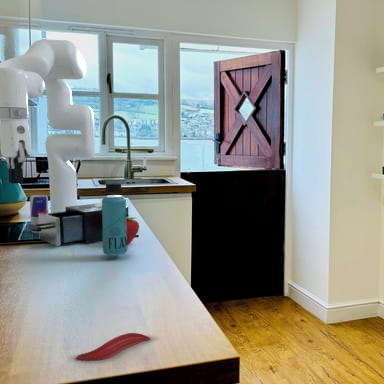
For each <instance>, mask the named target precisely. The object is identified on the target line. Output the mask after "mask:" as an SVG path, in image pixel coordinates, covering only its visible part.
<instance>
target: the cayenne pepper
mask: <svg viewBox="0 0 384 384" xmlns="http://www.w3.org/2000/svg"><path fill="white" fill-rule="evenodd" d="M150 340H151V338H150V336H148V335H144V334H142V333H139V332H128V333H124V334H120V335H118V336H115V337H113V338H112V339H109V340H108V341H107V342H105V343H103V344H101V345H100V346H99V347H97V348H95V349H93V350H91V351H88V352H85V353H81V354H78V355H77V356H76V357H75V358H76V359H77V360H79V361H101V360H105V359H109V358H112V357H114V356H116V355H118V353H120V352H121V351H123V350H125V349H128V348H129V347H132V346H134V345H136V344H139V343H143V342H145V341H150Z"/></svg>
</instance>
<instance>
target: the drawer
mask: <svg viewBox="0 0 384 384" xmlns="http://www.w3.org/2000/svg"><path fill="white" fill-rule="evenodd" d="M27 228H28V229H30V230H31V229H32V230H35V231H38V232H39V240H41V241H44V242H46V243H49V244H51V245H55V246H61V244H62V243H63V244H65V243H72V242H79V241H78V240H84V239H85V226H84V214H80V213H77V212H73V211H63V212H55V213H51V212H48V215H47V214H44V213H39V224H36V225H33V224H31V223H29V224H28V225H27Z"/></svg>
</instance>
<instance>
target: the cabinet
mask: <svg viewBox="0 0 384 384" xmlns="http://www.w3.org/2000/svg"><path fill="white" fill-rule="evenodd" d="M65 209H66V210H65V211H73V212H77V213H80V214H84V226H85V239H84V240H78V241H77V242H79V243H82V244H85V245H89V244H94V243H95V244H96V243H101V242H102V243H103V241H102V238H103V219H102V202H98V203H89V204H80V205H78V204H77V206H70V207H65ZM126 211H127V212H126V214H127V213H128V214H127V217H128V215H129V206H127V205H126Z"/></svg>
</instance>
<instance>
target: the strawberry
mask: <svg viewBox="0 0 384 384" xmlns="http://www.w3.org/2000/svg"><path fill="white" fill-rule="evenodd" d="M126 212H127V211H126ZM127 214H128V217H127V216H126V221H127V222H126V228H127V246H129V245H130V244H131V243H132V241H134V239H135V237H136V236H137V235H138V233H139V229H140V223H139V221H137V220H135V219H136V217H132V216H131V217H130V215H129V212H128V213H127Z"/></svg>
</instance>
